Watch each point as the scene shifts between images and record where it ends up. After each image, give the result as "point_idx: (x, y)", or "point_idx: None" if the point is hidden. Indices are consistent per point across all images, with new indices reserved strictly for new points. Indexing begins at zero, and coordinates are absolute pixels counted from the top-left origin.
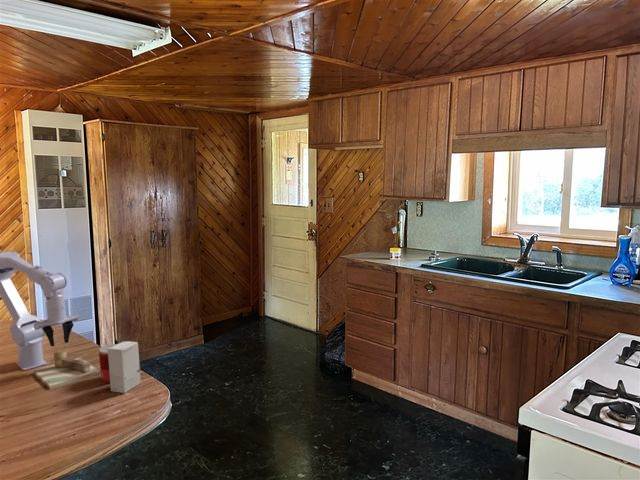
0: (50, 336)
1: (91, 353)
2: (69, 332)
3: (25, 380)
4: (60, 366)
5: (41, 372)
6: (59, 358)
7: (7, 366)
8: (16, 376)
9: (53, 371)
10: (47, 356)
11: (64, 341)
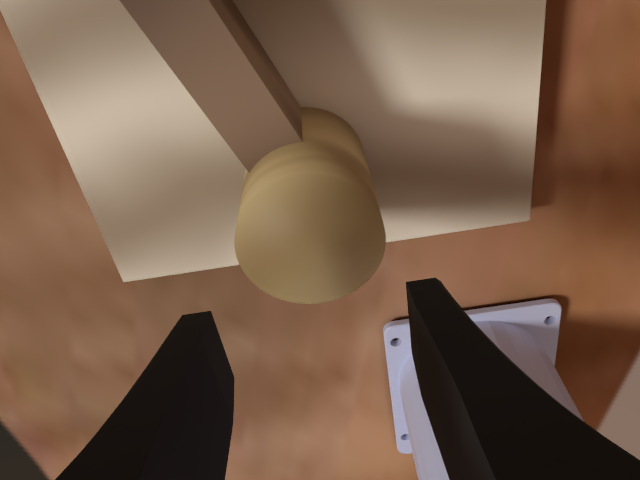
0: (543, 418)
1: (46, 350)
2: (79, 468)
3: (628, 87)
4: (323, 115)
5: (496, 123)
6: (331, 156)
7: (594, 415)
8: (635, 223)
9: (398, 72)
10: (350, 441)
11: (232, 376)
